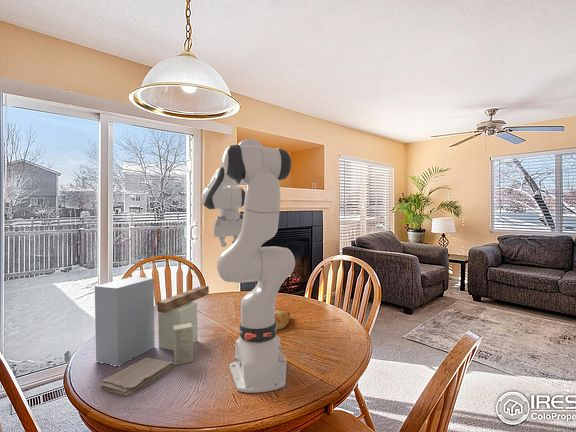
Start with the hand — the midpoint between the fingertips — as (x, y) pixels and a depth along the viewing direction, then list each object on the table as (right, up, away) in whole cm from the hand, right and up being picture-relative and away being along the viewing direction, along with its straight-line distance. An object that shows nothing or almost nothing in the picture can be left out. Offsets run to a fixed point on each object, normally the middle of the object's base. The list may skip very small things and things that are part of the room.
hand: (229, 245), depth 142 cm
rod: (-14, -21, -20) cm, 32 cm away
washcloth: (-19, -37, -48) cm, 63 cm away
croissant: (+22, -35, -5) cm, 42 cm away
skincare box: (-9, -36, -38) cm, 53 cm away
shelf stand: (-31, -36, -32) cm, 57 cm away
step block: (-15, -36, -24) cm, 45 cm away
